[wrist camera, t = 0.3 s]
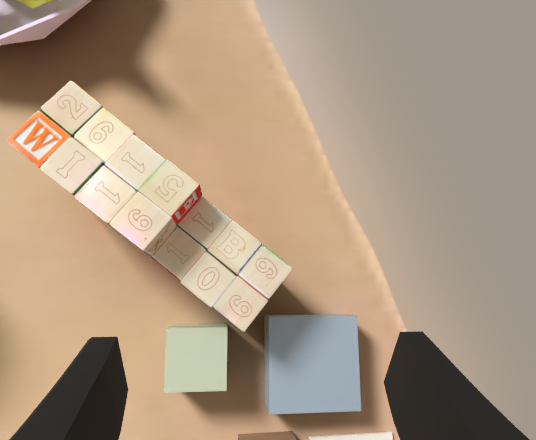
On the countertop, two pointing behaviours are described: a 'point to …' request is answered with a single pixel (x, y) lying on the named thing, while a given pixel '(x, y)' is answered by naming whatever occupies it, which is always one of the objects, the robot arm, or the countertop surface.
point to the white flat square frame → (356, 436)
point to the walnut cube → (268, 436)
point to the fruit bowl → (34, 18)
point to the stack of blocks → (150, 203)
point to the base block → (311, 364)
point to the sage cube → (195, 358)
